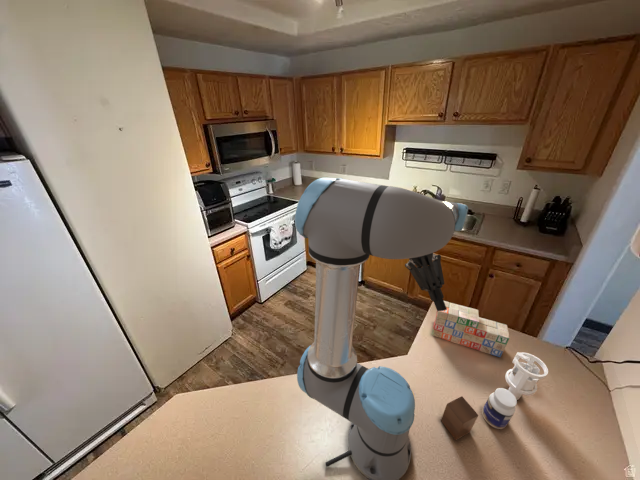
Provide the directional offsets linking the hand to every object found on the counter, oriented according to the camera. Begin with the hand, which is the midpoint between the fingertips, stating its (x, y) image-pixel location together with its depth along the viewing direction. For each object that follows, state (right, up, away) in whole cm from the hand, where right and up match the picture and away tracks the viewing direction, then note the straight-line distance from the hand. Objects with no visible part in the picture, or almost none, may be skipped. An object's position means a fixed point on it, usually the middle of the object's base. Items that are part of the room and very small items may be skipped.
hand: (442, 310), depth 80 cm
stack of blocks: (+14, -14, +12) cm, 23 cm away
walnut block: (-2, -27, -12) cm, 30 cm away
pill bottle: (+9, -26, -10) cm, 30 cm away
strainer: (+18, -23, -5) cm, 30 cm away
